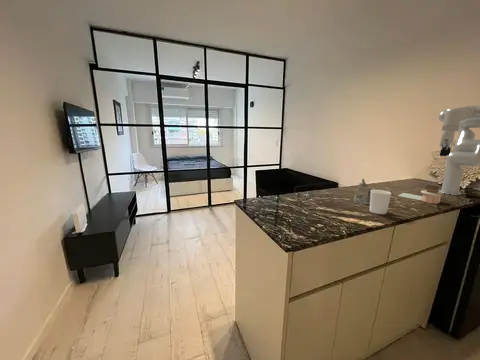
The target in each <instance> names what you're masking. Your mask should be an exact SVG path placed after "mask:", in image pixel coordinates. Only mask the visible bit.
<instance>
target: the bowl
mask: <svg viewBox="0 0 480 360" xmlns="http://www.w3.org/2000/svg"><path fill="white" fill-rule="evenodd" d="M421 196H422V200H421V201H422V202H424V203H426V204H428V203H429V204H435V205H436V204H440V202H441V198H442V196H431V195H426V194H423V193H422V195H421Z"/></svg>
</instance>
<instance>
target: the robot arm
mask: <svg viewBox="0 0 480 360" xmlns="http://www.w3.org/2000/svg"><path fill="white" fill-rule="evenodd" d="M438 120H439V121H440V122H441V123H442V122H443V123H442V128H441V132H442V134H441V137H440V143H439V147H441V149H440V152H439V157H446V159H445V160H446V162H445V163H446V164H445V165H446V166H445V171H444V175H443V181H442V184H441V188H440V189H439V190H438V191H439V192H441V193H445V194H444V195H449V194H451V195H452V196H462V194H463V193H462V192H460V188H461V184H462V179H463V175H464V169H463V167H462V166H468V167H469V166H471V167H477V166H479V165H480V139H475V138H476V134H475V132H474V131H473V130H471V128H472V129H473V128H475V129H476V128H477V129H478V128H479V129H480V104H477V105H468V106H462V107H456V108H448V109H443V110H441V112H440V113H439V114H438ZM456 132H458V136H457V139H456V141H455V143H454V140H455V135H456ZM453 144H454V146H453ZM452 146H453V150H454V151H451V147H452Z"/></svg>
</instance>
